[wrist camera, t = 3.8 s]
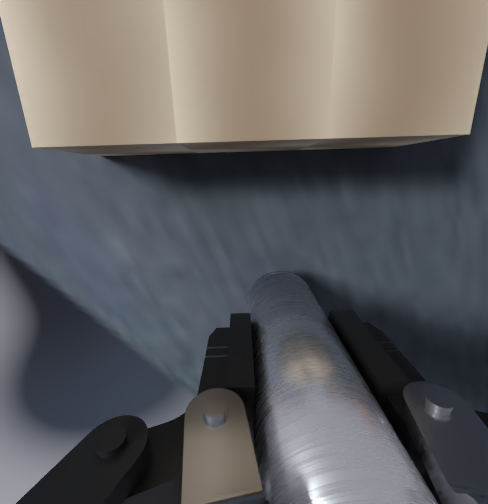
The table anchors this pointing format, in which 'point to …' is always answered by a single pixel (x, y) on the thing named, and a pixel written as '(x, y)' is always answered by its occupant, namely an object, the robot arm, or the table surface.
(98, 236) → the table surface
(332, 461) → the steel pin
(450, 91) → the oak hole block
